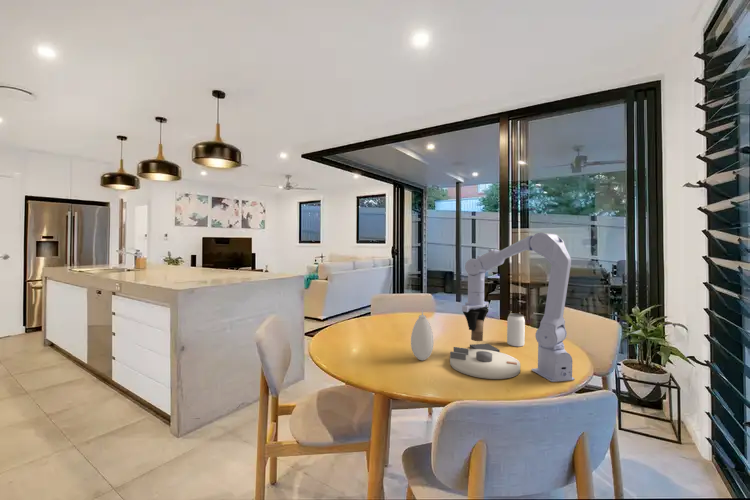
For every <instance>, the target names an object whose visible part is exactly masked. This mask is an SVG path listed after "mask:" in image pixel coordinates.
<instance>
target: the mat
mask: <svg viewBox="0 0 750 500" xmlns="http://www.w3.org/2000/svg"><path fill="white" fill-rule="evenodd" d="M469 349H483V350H491V351H496V352H501V351H500V349H499V348H497V347H495V346H493V345H492V344H490V343H477V344H469Z"/></svg>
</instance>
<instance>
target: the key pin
mask: <svg viewBox="0 0 750 500" xmlns="http://www.w3.org/2000/svg"><path fill="white" fill-rule="evenodd" d="M484 322H485V320H484V321H483V320H480V319H477V321H476V329H475V331H473V330H470V331H471V332H470V333H471V334H470V335H471V337H470V340H471V341H474V342H483V341H484V340H483V339H484Z"/></svg>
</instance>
